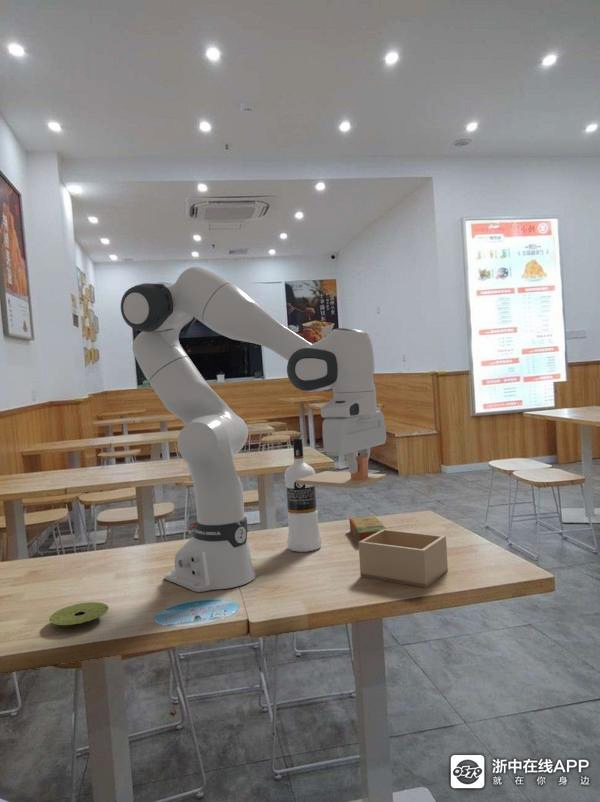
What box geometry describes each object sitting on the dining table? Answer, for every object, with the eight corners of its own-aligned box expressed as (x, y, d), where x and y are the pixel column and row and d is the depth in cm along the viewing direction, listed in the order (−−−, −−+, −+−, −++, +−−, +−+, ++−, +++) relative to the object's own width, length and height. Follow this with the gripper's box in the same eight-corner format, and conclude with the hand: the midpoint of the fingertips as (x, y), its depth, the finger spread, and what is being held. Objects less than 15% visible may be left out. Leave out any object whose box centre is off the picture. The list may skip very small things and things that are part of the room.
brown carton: (360, 576, 134) (358, 542, 133) (385, 561, 143) (383, 528, 143) (426, 587, 124) (424, 550, 124) (447, 570, 134) (445, 536, 134)
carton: (377, 530, 174) (376, 515, 173) (389, 545, 158) (389, 529, 157) (349, 532, 173) (348, 517, 173) (359, 547, 157) (358, 532, 157)
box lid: (296, 483, 125) (294, 459, 125) (325, 474, 135) (324, 451, 135) (359, 488, 116) (358, 461, 116) (386, 478, 126) (385, 453, 125)
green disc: (43, 638, 112) (42, 627, 112) (56, 615, 123) (56, 606, 123) (105, 629, 114) (104, 619, 114) (112, 607, 125) (111, 598, 125)
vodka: (324, 542, 162) (317, 435, 161) (318, 553, 153) (311, 439, 152) (291, 543, 164) (284, 436, 163) (284, 553, 155) (276, 440, 154)
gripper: (366, 402, 132) (369, 463, 133) (315, 409, 116) (319, 479, 116) (391, 401, 129) (394, 464, 129) (342, 409, 112) (346, 480, 113)
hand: (358, 471), depth 123 cm, fingers closed on box lid
